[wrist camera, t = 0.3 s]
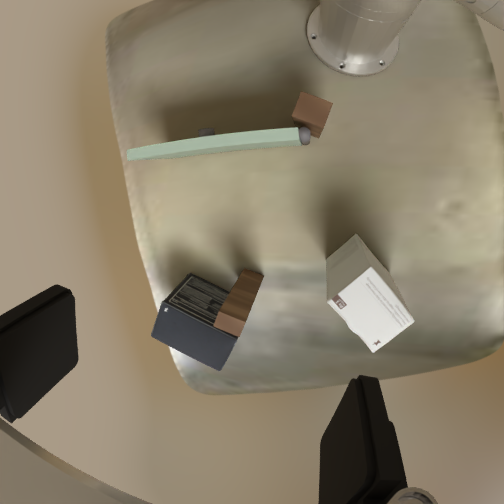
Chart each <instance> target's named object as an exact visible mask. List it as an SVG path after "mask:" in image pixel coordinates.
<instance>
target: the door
mask: <svg viewBox="0 0 504 504" xmlns="http://www.w3.org/2000/svg"><path fill="white" fill-rule="evenodd" d="M309 143H310V130H309V129H308V128H306V127H301V128H300V129H298V127H296V128H281V129H268V130H257V131H247V132H237V133H228V134H220V135H215V133H214V128H205V129H200V130H199V137H198V138H191V139H184V140H178V141H172V142H166V143H160V144H155V145H149V146H144V147H139V148H134V149H129V150H127V159H128V161H131V160H150V159H173V158H179V157H187V156H194V155H202V154H210V153H219V152H228V151H237V150H248V149H259V148H272V147H286V146H302V144H303V145H308V144H309Z"/></svg>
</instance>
